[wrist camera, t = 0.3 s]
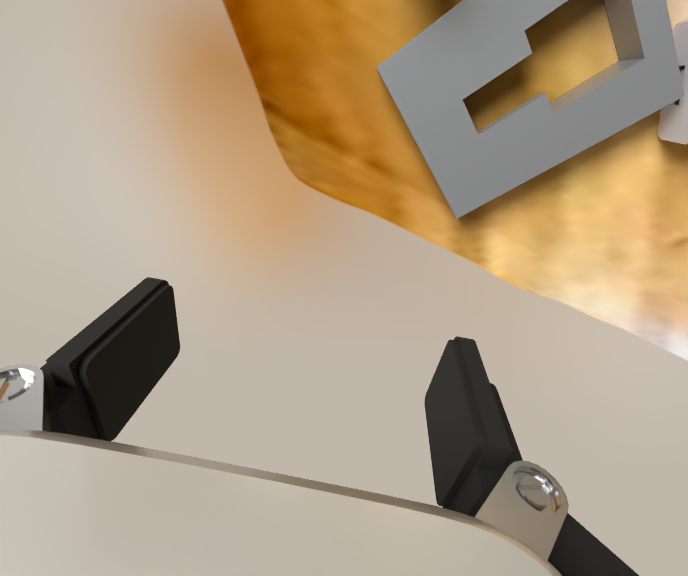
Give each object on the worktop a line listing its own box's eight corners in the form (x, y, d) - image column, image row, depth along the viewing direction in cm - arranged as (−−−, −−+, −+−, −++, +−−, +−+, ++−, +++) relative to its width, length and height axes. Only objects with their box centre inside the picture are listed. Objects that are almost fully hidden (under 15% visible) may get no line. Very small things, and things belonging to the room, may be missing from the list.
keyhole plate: (609, -112, 25) (639, -138, 22) (656, 94, 31) (684, 96, 28) (377, 68, 33) (376, 67, 30) (451, 208, 39) (456, 218, 36)
